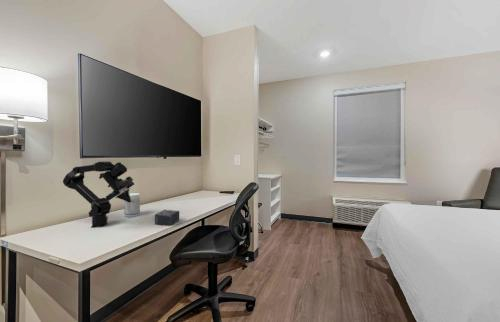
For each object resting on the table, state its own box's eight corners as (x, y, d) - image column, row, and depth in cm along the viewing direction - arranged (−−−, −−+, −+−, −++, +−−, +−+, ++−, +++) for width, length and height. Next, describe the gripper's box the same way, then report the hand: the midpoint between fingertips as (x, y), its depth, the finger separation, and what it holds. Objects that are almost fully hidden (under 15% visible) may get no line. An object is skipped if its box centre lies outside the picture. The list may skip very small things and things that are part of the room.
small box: (154, 225, 122) (170, 226, 120) (154, 214, 121) (170, 215, 119) (164, 219, 132) (179, 220, 130) (164, 209, 132) (179, 210, 129)
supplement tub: (123, 215, 141) (123, 193, 141) (138, 213, 147) (138, 192, 147) (124, 218, 134) (124, 196, 133) (141, 216, 139) (141, 194, 139)
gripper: (112, 179, 108) (131, 202, 111) (132, 169, 126) (148, 189, 129) (97, 189, 110) (116, 212, 113) (119, 178, 128) (135, 197, 131)
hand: (130, 201), depth 121 cm, fingers closed
